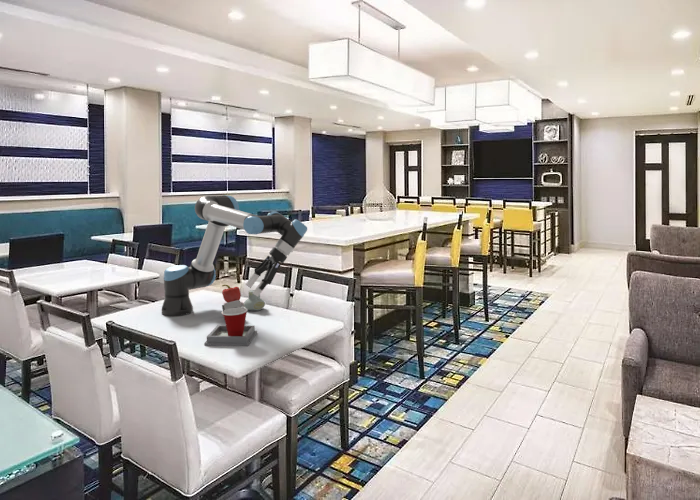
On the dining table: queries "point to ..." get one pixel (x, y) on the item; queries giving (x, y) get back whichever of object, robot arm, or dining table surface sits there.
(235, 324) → the plastic cup
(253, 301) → the air freshener
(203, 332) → the dining table surface
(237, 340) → the pocket tray
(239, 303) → the electrical switch
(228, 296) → the vegetable
